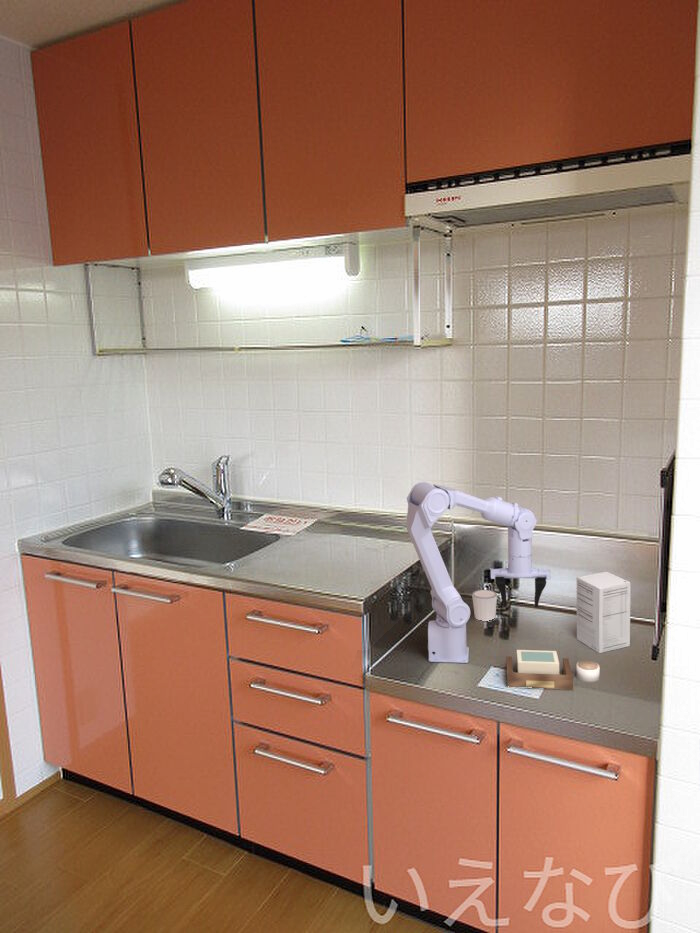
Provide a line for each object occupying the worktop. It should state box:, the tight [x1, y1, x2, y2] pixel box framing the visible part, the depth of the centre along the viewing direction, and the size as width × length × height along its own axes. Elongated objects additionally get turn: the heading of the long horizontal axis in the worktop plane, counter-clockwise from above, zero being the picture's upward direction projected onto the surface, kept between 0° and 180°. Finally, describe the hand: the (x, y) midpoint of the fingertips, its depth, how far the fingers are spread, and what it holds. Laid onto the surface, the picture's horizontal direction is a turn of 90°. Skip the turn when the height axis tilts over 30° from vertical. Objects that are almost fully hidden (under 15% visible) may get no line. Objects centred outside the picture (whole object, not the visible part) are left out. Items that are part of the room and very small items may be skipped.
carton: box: [516, 649, 560, 675], centre depth 159 cm, size 9×6×4 cm
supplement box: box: [576, 571, 632, 654], centre depth 172 cm, size 10×9×17 cm
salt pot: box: [575, 659, 601, 683], centre depth 157 cm, size 5×5×3 cm
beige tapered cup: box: [471, 589, 498, 622], centre depth 192 cm, size 7×7×7 cm
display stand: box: [505, 655, 574, 691], centre depth 157 cm, size 14×9×3 cm
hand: (520, 605), depth 175 cm, fingers open, 7 cm apart
